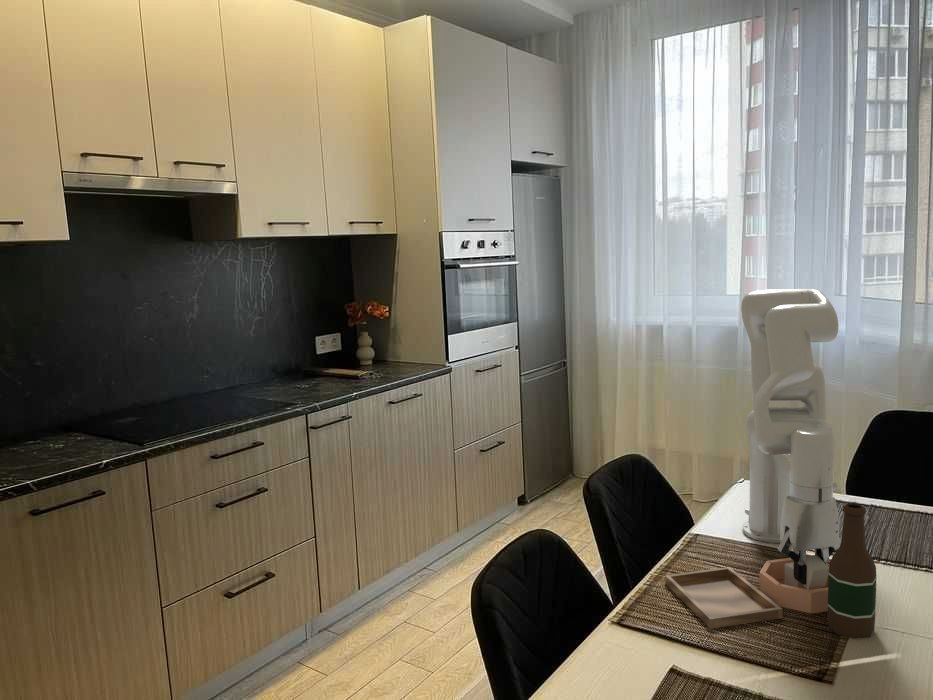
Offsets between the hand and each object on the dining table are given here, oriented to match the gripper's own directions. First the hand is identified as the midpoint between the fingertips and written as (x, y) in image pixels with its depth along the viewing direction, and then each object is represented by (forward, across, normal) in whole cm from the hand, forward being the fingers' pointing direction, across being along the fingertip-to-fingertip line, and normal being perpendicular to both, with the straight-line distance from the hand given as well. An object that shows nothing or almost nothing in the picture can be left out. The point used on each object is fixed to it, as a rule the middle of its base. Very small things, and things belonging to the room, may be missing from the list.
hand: (809, 579), depth 142 cm
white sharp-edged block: (+1, 0, 0) cm, 1 cm away
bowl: (+5, 0, -2) cm, 5 cm away
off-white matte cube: (+4, 0, -4) cm, 5 cm away
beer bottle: (+5, 0, +11) cm, 12 cm away
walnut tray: (+5, +16, -4) cm, 18 cm away
